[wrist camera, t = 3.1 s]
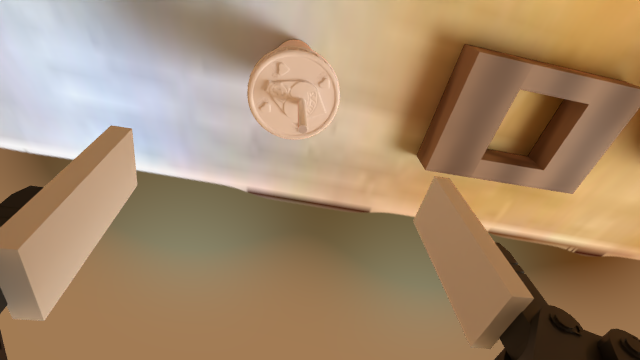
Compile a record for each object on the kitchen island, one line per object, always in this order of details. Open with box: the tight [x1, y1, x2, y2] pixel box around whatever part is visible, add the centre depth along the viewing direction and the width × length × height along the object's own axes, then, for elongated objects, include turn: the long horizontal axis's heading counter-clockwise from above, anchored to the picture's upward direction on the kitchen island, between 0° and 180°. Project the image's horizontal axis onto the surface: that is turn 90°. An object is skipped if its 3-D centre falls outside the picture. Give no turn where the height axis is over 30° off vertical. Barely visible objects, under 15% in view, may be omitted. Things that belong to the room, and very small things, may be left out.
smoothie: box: [248, 40, 340, 139], centre depth 25 cm, size 6×6×14 cm
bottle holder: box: [417, 44, 640, 194], centre depth 34 cm, size 18×12×3 cm, turn 78°
